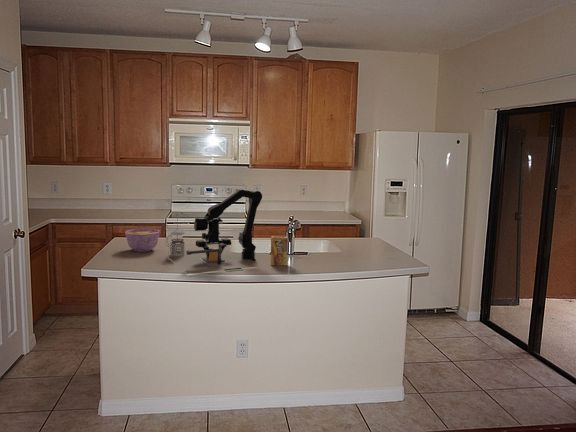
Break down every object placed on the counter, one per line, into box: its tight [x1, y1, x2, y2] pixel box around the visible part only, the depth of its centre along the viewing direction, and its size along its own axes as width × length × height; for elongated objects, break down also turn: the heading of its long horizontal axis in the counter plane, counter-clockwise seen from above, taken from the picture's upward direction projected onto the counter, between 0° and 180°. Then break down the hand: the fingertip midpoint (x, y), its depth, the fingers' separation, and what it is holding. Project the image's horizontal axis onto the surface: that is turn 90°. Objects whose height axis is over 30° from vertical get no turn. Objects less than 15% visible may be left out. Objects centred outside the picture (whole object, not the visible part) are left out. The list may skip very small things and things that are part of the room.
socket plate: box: [198, 256, 232, 267], centre depth 271 cm, size 12×20×2 cm, turn 28°
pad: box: [223, 267, 244, 273], centre depth 260 cm, size 9×9×1 cm
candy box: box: [270, 235, 288, 266], centre depth 270 cm, size 9×4×15 cm, turn 89°
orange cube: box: [207, 247, 218, 261], centre depth 272 cm, size 6×6×6 cm
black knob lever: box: [186, 248, 224, 264], centre depth 260 cm, size 19×2×8 cm, turn 118°
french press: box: [165, 212, 185, 257], centre depth 282 cm, size 10×12×25 cm
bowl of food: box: [124, 228, 161, 253], centre depth 296 cm, size 20×20×12 cm
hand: (213, 258), depth 272 cm, fingers closed on orange cube, 6 cm apart
